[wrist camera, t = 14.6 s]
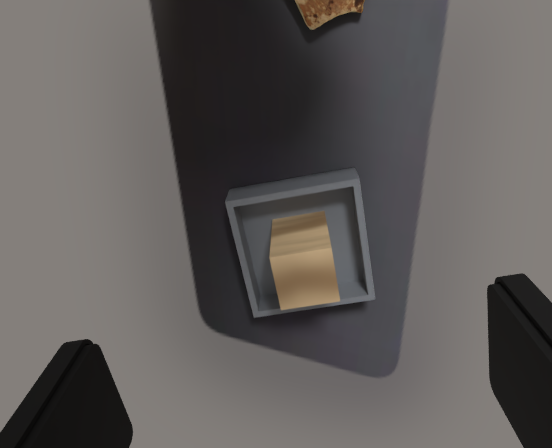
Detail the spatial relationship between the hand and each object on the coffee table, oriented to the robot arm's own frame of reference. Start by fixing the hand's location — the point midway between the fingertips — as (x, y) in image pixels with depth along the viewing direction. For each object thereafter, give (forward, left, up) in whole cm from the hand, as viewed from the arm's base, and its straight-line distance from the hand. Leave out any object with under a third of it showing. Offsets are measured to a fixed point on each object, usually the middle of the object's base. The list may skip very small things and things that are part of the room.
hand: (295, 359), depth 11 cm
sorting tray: (+12, -1, -33) cm, 35 cm away
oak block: (+12, -1, -33) cm, 35 cm away
